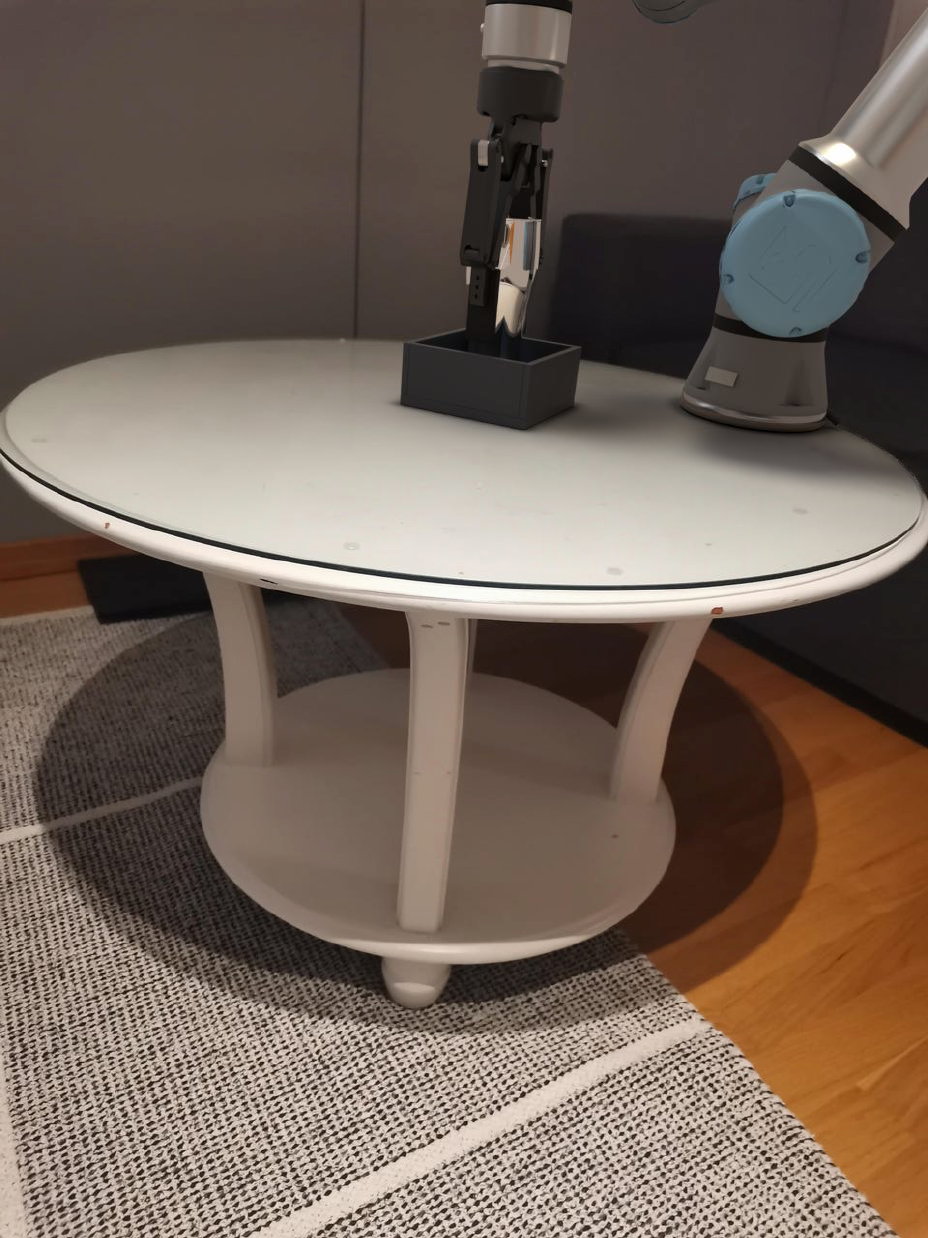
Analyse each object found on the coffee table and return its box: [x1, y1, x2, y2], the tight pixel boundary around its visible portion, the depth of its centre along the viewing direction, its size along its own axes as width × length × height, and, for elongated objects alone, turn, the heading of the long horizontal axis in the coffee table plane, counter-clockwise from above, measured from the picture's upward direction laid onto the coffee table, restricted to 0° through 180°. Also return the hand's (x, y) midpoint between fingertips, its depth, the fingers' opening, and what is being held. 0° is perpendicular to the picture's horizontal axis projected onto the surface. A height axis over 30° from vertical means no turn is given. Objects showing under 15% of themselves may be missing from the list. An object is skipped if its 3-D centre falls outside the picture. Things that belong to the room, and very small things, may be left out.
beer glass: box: [465, 215, 542, 362], centre depth 91 cm, size 7×7×15 cm
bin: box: [399, 326, 583, 431], centre depth 95 cm, size 13×13×6 cm
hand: (495, 335), depth 93 cm, fingers closed on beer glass, 7 cm apart
